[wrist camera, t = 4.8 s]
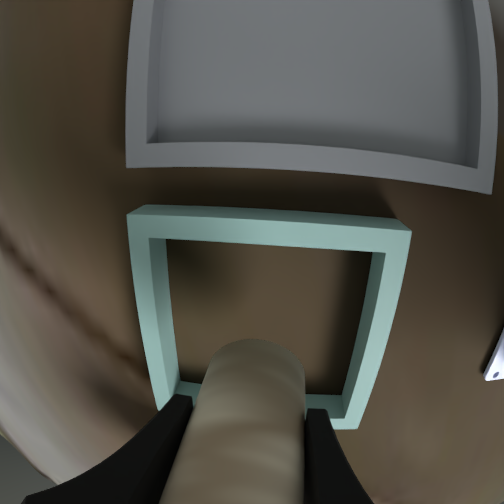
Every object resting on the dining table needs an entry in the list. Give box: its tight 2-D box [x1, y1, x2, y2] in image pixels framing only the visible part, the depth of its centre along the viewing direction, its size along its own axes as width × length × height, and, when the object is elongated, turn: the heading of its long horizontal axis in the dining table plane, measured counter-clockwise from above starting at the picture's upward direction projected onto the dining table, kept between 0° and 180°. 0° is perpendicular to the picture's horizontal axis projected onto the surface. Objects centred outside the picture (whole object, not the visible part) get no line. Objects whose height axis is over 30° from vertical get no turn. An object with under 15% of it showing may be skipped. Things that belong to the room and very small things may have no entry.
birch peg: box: [159, 339, 305, 504], centre depth 9 cm, size 4×4×8 cm
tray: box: [126, 0, 498, 195], centre depth 11 cm, size 16×12×2 cm
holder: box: [127, 205, 412, 429], centre depth 16 cm, size 12×12×2 cm
